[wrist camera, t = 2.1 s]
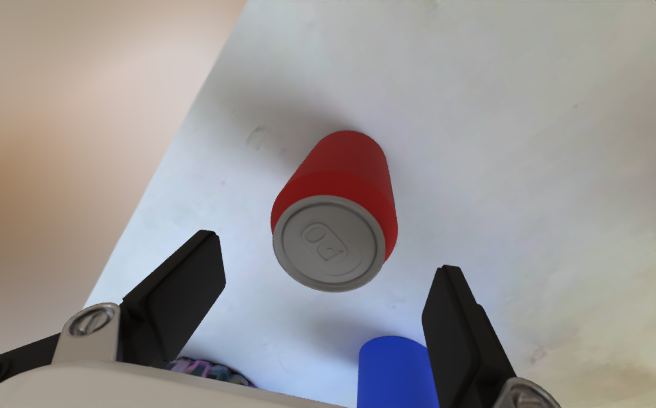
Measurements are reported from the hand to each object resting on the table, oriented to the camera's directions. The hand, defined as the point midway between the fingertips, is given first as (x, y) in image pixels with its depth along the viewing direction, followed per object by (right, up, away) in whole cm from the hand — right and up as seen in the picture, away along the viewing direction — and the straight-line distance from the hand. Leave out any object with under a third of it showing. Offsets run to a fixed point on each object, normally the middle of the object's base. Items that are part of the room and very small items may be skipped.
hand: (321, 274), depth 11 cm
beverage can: (+2, +6, +12) cm, 14 cm away
